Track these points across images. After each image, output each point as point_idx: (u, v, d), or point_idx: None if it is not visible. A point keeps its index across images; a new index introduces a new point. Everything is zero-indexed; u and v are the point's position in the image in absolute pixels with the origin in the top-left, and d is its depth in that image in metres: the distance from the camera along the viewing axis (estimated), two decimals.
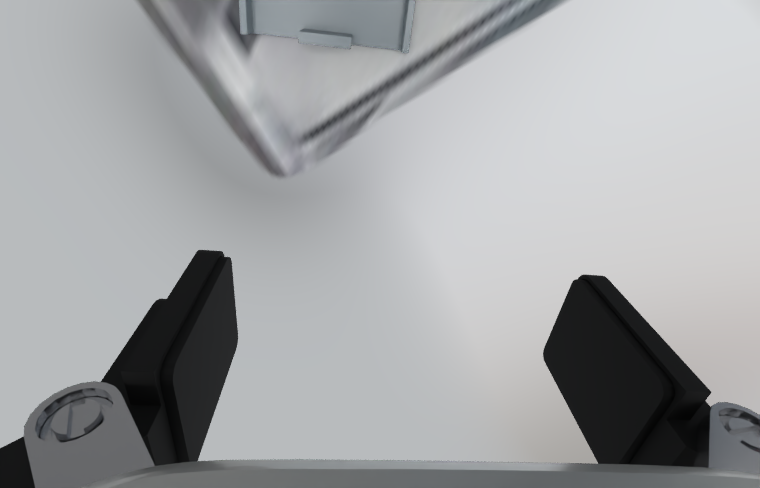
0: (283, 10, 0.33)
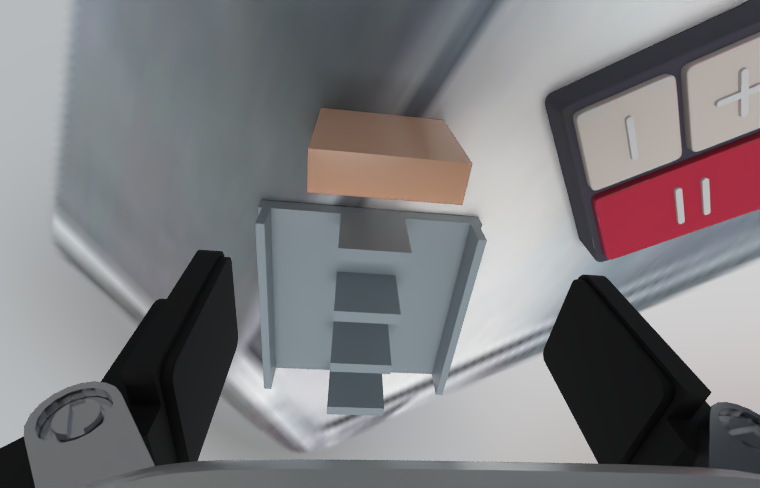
0: (309, 351, 0.31)
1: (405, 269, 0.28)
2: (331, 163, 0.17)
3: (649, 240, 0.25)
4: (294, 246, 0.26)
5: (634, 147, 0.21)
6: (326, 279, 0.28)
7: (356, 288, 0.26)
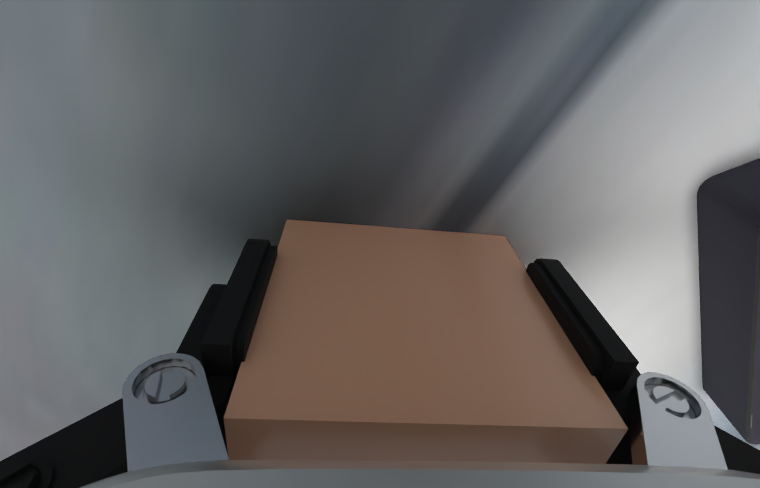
0: None
1: None
2: (287, 441, 0.07)
3: None
4: None
5: None
6: None
7: None
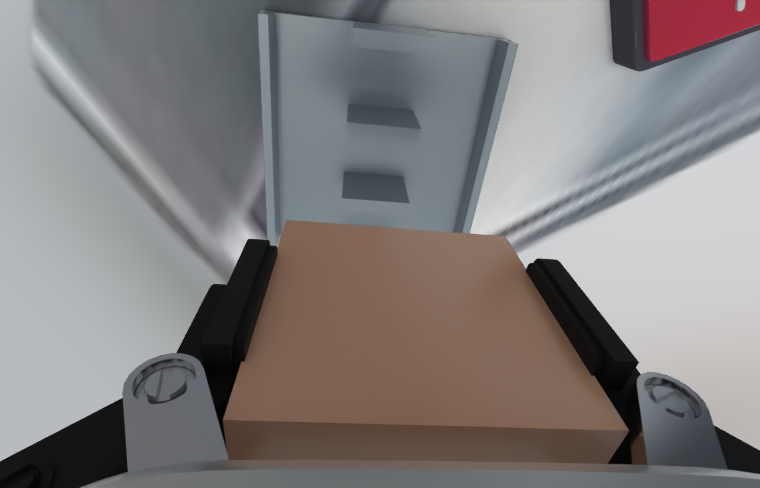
0: (316, 214, 0.29)
1: (424, 102, 0.25)
2: (286, 442, 0.07)
3: (700, 35, 0.22)
4: (301, 67, 0.24)
5: None
6: (336, 114, 0.25)
7: (370, 113, 0.23)
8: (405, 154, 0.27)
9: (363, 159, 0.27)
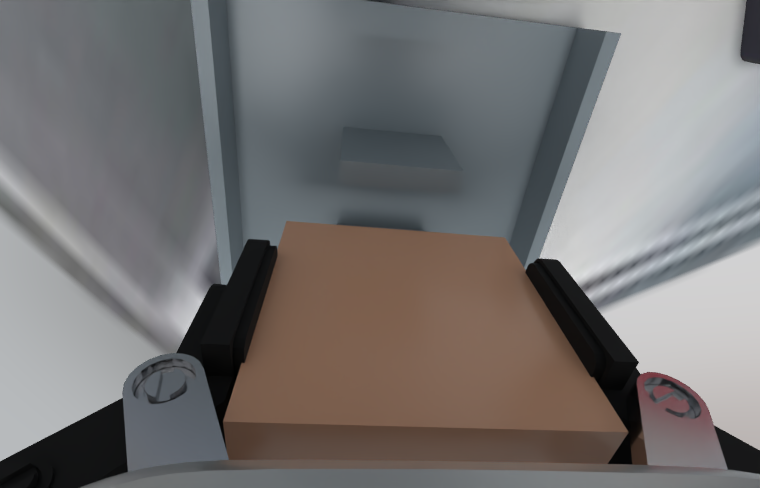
0: None
1: (458, 124, 0.16)
2: (286, 444, 0.07)
3: None
4: (269, 71, 0.15)
5: None
6: (326, 142, 0.17)
7: (378, 142, 0.15)
8: (428, 199, 0.18)
9: (366, 206, 0.18)
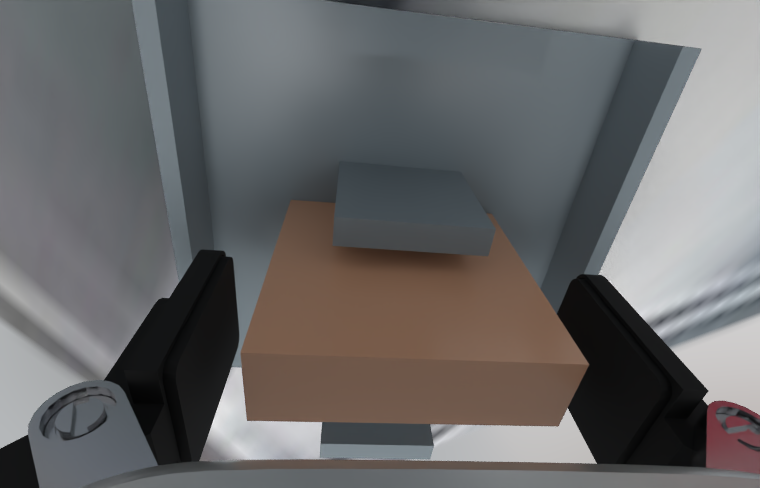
0: None
1: (481, 158, 0.13)
2: (294, 375, 0.08)
3: None
4: (246, 95, 0.12)
5: None
6: (318, 180, 0.13)
7: (383, 185, 0.12)
8: None
9: None
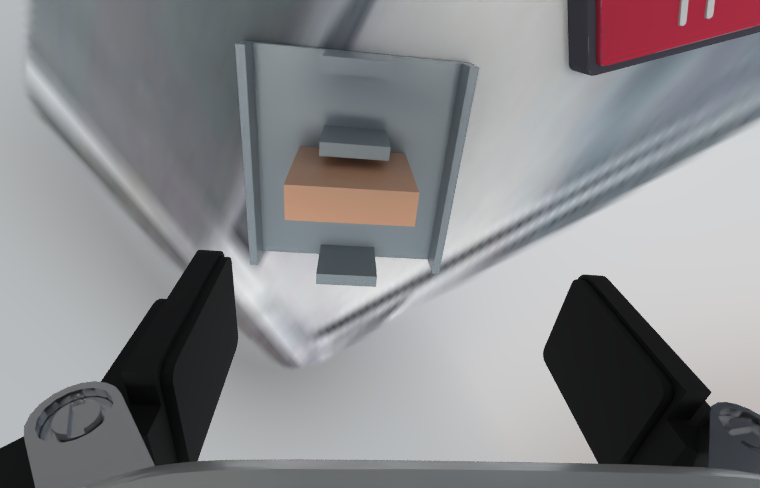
0: (297, 229, 0.30)
1: (395, 122, 0.26)
2: (303, 195, 0.21)
3: (646, 45, 0.23)
4: (278, 92, 0.25)
5: None
6: (313, 135, 0.27)
7: (344, 133, 0.25)
8: None
9: None
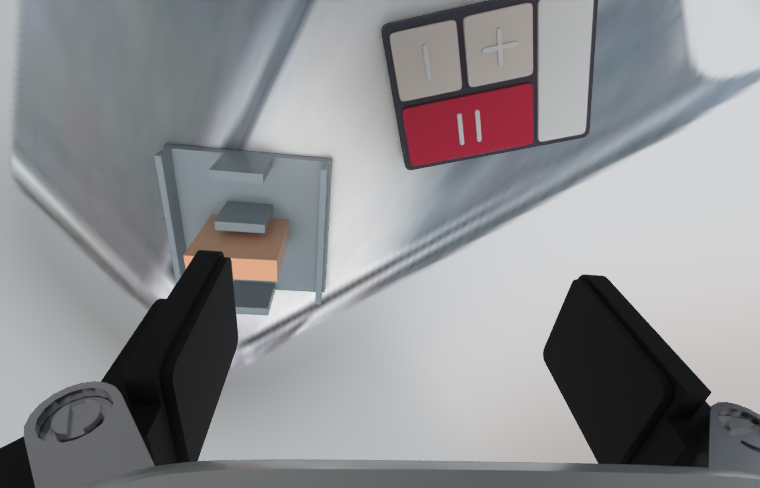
0: None
1: (279, 199, 0.37)
2: None
3: (441, 155, 0.33)
4: (192, 179, 0.35)
5: (428, 70, 0.30)
6: (220, 207, 0.37)
7: (237, 210, 0.35)
8: None
9: None
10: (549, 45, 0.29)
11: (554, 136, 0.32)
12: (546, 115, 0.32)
